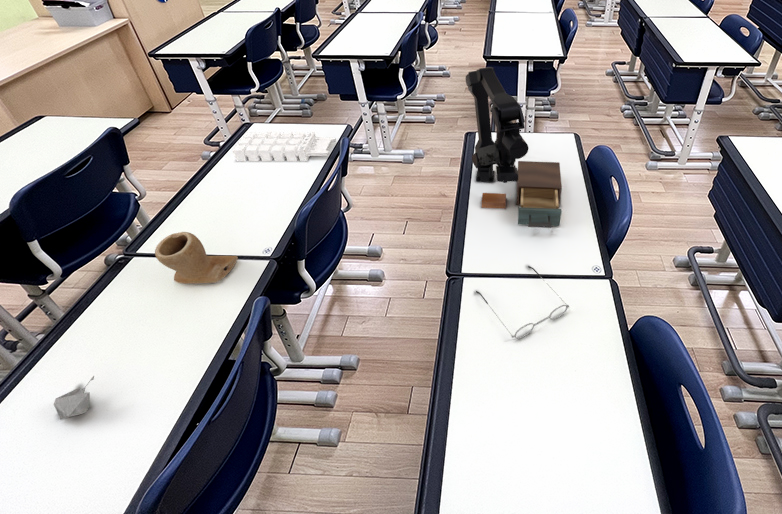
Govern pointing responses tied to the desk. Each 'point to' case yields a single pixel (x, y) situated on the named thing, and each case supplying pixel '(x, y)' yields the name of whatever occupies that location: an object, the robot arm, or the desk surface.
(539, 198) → the drawer
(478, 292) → the eyeglasses
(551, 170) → the cabinet
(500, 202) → the brown rectangular box
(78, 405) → the grey faceted ornament
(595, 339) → the desk surface
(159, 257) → the clay pipe
